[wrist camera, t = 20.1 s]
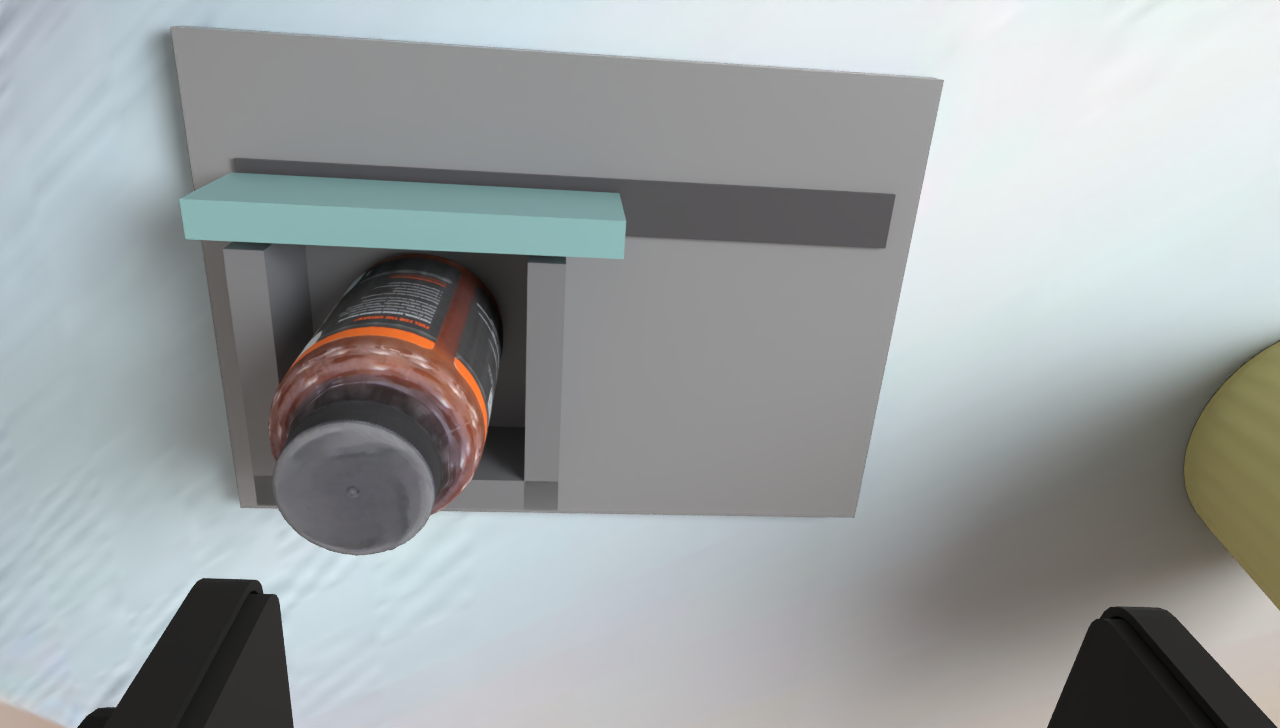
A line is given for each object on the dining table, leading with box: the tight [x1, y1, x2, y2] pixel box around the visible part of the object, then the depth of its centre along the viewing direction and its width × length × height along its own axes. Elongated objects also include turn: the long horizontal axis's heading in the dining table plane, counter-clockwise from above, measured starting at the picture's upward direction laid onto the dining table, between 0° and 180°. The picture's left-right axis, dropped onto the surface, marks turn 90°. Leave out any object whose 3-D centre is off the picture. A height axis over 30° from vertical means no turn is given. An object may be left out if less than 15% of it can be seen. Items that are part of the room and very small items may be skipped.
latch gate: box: [179, 172, 626, 259], centre depth 27 cm, size 1×13×4 cm, turn 86°
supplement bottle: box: [268, 253, 503, 555], centre depth 26 cm, size 6×6×11 cm
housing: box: [171, 26, 944, 518], centre depth 30 cm, size 18×26×5 cm
